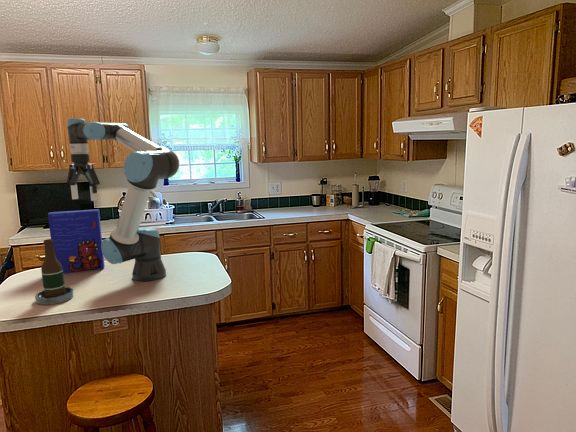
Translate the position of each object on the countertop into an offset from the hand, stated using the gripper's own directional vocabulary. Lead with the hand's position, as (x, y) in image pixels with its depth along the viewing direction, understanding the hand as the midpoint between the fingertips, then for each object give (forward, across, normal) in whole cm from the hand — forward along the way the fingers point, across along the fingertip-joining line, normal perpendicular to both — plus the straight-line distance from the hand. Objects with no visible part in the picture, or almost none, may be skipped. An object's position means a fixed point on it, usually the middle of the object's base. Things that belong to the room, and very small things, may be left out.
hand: (84, 199), depth 196 cm
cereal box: (+37, -14, +4) cm, 40 cm away
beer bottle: (+36, +13, -27) cm, 47 cm away
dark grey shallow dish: (+37, +13, -27) cm, 47 cm away
